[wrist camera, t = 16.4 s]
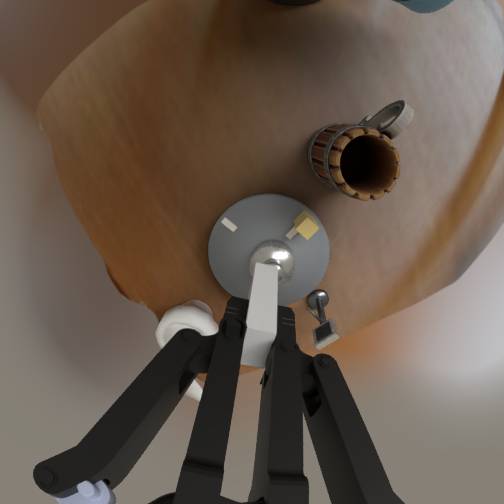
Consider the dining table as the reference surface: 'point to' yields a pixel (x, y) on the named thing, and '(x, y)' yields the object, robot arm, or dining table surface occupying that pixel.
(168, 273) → the dining table surface
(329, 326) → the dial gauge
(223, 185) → the dining table surface
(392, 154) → the mug
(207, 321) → the potted plant
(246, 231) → the turntable
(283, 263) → the cover
